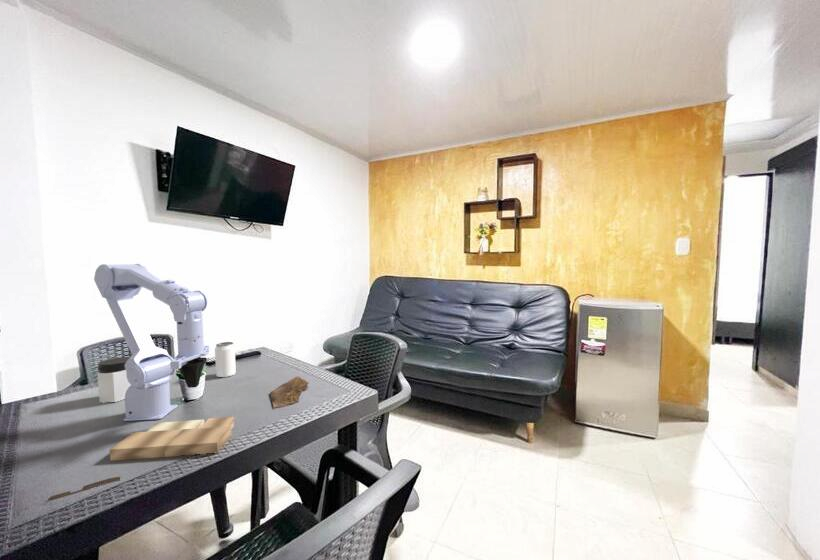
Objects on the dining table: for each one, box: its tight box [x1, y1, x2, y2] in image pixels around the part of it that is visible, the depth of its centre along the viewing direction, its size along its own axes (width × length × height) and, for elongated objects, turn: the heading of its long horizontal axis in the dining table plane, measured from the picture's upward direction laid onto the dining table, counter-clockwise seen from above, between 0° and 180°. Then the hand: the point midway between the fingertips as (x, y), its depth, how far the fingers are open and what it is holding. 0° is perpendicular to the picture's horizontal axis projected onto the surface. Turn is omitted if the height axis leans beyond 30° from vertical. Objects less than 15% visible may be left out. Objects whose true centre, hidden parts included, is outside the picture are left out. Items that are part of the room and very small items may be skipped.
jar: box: [97, 356, 131, 403], centre depth 101 cm, size 9×8×12 cm
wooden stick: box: [44, 476, 121, 503], centre depth 61 cm, size 12×3×1 cm, turn 122°
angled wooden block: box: [109, 416, 235, 462], centre depth 76 cm, size 22×12×2 cm, turn 96°
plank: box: [147, 418, 205, 431], centre depth 80 cm, size 11×5×2 cm, turn 99°
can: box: [214, 341, 237, 378], centre depth 121 cm, size 6×6×12 cm
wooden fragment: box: [269, 376, 309, 410], centre depth 106 cm, size 26×11×1 cm, turn 3°
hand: (193, 386), depth 86 cm, fingers closed
